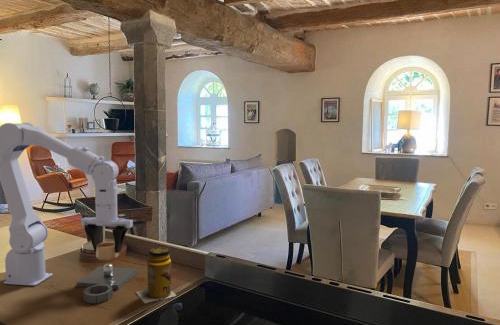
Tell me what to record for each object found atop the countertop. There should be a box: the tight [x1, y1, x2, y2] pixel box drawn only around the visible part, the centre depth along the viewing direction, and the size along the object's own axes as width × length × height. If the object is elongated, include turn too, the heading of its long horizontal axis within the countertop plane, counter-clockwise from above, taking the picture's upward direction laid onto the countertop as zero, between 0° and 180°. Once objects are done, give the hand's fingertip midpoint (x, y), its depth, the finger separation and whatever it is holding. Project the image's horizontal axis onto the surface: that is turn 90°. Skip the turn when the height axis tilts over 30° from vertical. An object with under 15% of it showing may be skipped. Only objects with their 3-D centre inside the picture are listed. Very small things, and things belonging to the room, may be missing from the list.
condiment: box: [135, 246, 177, 304], centre depth 102 cm, size 7×8×12 cm
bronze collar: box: [95, 241, 120, 261], centre depth 111 cm, size 6×6×3 cm
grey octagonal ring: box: [82, 284, 114, 304], centre depth 101 cm, size 7×7×2 cm
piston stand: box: [76, 263, 138, 291], centre depth 112 cm, size 12×12×4 cm
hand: (107, 251), depth 111 cm, fingers closed on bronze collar, 6 cm apart
